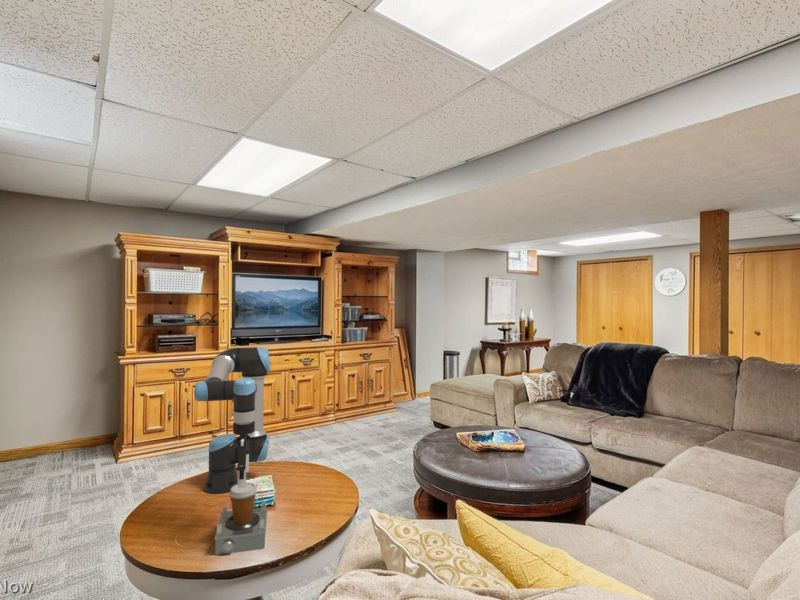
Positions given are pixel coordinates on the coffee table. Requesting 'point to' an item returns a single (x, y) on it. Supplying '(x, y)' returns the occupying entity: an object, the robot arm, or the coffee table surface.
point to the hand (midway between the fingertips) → (243, 479)
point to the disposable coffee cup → (243, 503)
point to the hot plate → (241, 532)
